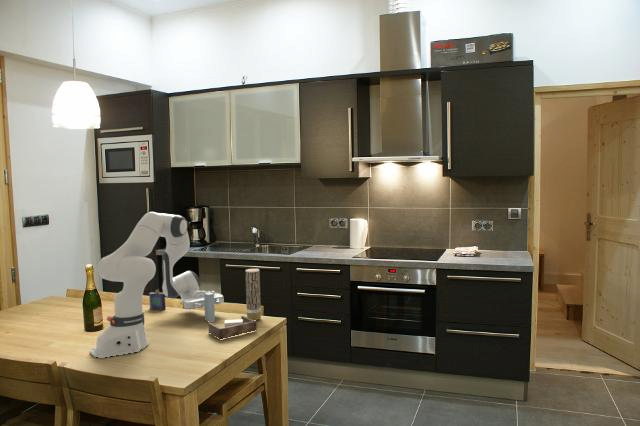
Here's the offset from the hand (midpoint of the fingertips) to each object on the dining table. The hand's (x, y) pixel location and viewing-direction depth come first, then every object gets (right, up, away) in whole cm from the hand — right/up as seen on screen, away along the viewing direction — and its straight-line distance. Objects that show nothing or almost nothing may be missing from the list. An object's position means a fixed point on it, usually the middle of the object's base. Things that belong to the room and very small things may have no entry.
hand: (210, 304), depth 245 cm
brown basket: (+14, -10, -18) cm, 25 cm away
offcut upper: (+15, -7, -19) cm, 25 cm away
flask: (-34, -7, +26) cm, 43 cm away
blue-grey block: (0, -9, +1) cm, 9 cm away
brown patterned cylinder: (+21, -8, +3) cm, 23 cm away
